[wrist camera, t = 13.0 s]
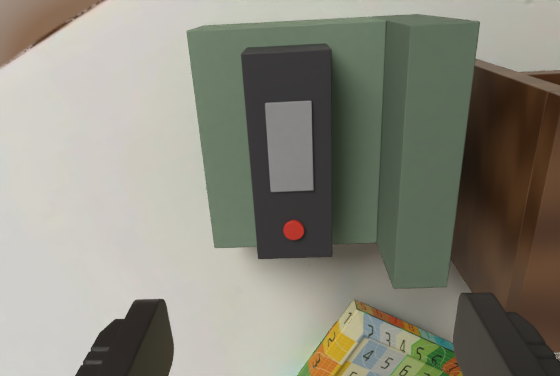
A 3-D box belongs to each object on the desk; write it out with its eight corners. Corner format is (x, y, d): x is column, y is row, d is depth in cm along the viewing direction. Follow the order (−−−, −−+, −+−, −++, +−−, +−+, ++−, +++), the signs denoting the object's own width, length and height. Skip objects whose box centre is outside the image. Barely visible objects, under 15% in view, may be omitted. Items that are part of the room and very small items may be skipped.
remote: (246, 47, 24) (240, 54, 21) (326, 43, 24) (332, 49, 21) (261, 234, 29) (257, 261, 26) (328, 232, 29) (332, 259, 26)
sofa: (224, 215, 34) (200, 294, 25) (203, 25, 28) (161, 38, 19) (403, 208, 33) (447, 287, 24) (417, 14, 28) (480, 21, 19)
